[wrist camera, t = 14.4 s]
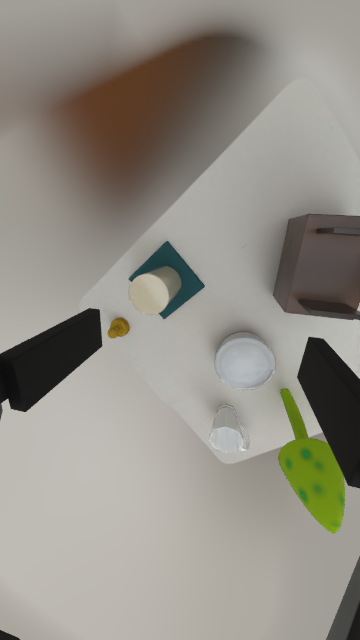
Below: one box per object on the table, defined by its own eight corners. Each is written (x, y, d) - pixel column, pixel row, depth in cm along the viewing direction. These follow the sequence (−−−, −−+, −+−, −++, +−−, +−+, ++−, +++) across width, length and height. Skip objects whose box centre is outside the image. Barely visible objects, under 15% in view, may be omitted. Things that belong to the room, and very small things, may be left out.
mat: (129, 278, 47) (128, 278, 46) (167, 241, 43) (166, 241, 42) (164, 318, 48) (163, 319, 48) (204, 286, 44) (204, 286, 43)
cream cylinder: (149, 264, 44) (128, 272, 35) (182, 267, 43) (169, 276, 34) (149, 297, 47) (129, 312, 37) (180, 300, 45) (167, 317, 36)
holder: (289, 219, 37) (323, 209, 24) (349, 222, 36) (423, 213, 22) (272, 295, 42) (293, 324, 28) (325, 301, 41) (374, 334, 27)
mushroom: (295, 369, 46) (359, 501, 23) (313, 400, 48) (391, 553, 25) (256, 384, 49) (280, 515, 26) (275, 413, 51) (312, 560, 28)
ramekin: (245, 384, 50) (247, 400, 45) (205, 354, 49) (202, 367, 44) (283, 350, 45) (290, 363, 40) (239, 316, 45) (241, 326, 40)
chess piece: (121, 337, 52) (110, 347, 47) (109, 324, 51) (98, 333, 47) (132, 328, 51) (123, 337, 46) (121, 314, 50) (110, 322, 45)
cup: (225, 394, 52) (224, 420, 44) (258, 421, 52) (263, 451, 45) (205, 410, 54) (201, 438, 47) (236, 436, 55) (237, 467, 48)
